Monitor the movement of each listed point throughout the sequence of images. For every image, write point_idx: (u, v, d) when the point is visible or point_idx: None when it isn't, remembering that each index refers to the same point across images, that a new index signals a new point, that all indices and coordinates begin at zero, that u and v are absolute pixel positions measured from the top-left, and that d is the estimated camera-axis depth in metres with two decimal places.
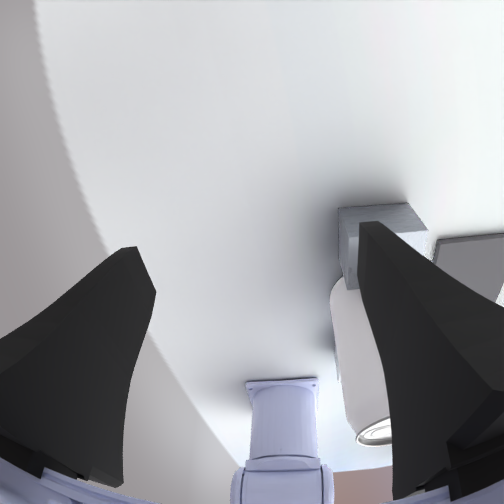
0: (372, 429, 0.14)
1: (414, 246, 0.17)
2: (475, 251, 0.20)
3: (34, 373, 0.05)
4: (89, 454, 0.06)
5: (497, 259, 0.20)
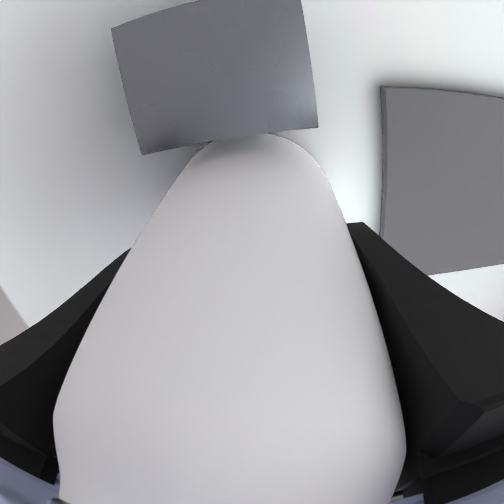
0: None
1: (272, 24, 0.06)
2: (468, 119, 0.09)
3: (48, 376, 0.05)
4: None
5: None
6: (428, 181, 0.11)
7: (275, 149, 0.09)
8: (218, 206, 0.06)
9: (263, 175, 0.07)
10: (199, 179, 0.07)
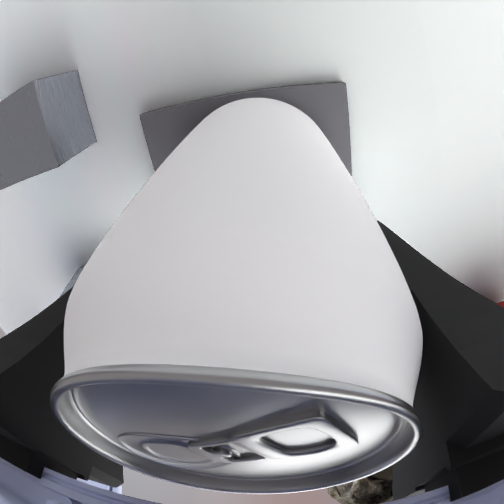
0: (122, 435, 0.04)
1: (26, 110, 0.09)
2: None
3: (34, 373, 0.05)
4: (89, 454, 0.06)
5: None
6: None
7: (279, 107, 0.10)
8: (234, 132, 0.06)
9: (271, 118, 0.08)
10: (213, 122, 0.08)
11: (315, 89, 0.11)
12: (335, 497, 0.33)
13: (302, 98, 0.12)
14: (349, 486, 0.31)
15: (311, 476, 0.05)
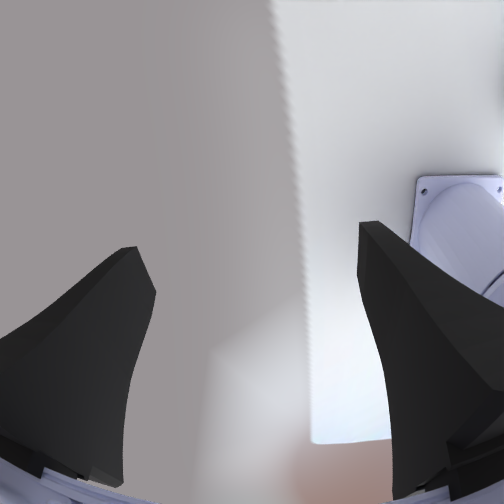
0: None
1: None
2: None
3: (34, 373, 0.05)
4: (89, 454, 0.06)
5: None
6: None
7: None
8: None
9: None
10: None
11: None
12: None
13: None
14: None
15: None
